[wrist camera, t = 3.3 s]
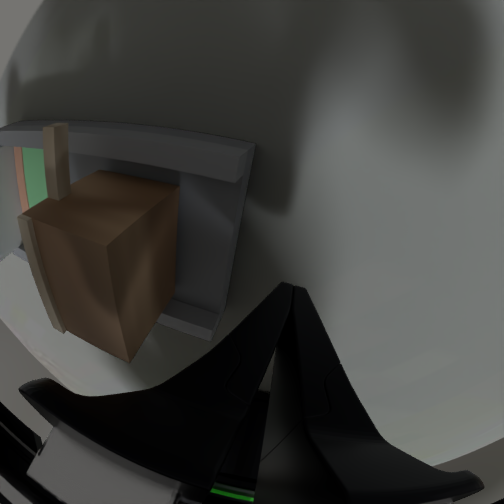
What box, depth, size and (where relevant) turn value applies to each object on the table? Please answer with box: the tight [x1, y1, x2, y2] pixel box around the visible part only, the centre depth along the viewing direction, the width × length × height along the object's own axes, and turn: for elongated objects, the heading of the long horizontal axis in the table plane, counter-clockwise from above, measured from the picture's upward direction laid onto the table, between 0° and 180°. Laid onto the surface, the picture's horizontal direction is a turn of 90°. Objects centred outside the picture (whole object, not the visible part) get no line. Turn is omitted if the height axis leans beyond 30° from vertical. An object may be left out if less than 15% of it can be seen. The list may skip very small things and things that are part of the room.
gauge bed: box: [0, 120, 256, 342], centre depth 10 cm, size 14×8×4 cm, turn 80°
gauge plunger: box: [17, 123, 180, 363], centre depth 8 cm, size 4×7×4 cm, turn 170°
